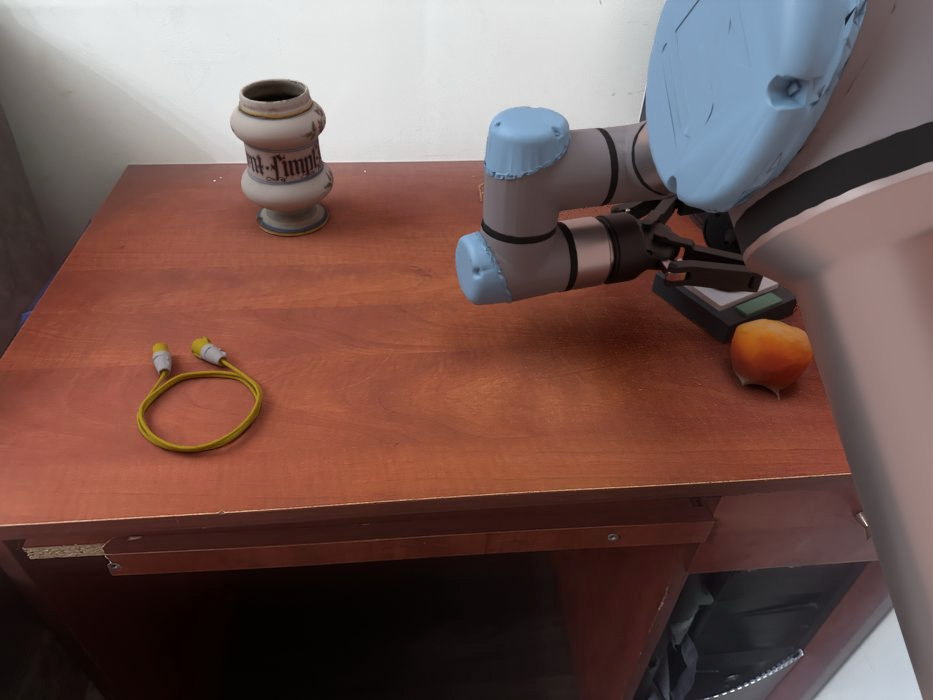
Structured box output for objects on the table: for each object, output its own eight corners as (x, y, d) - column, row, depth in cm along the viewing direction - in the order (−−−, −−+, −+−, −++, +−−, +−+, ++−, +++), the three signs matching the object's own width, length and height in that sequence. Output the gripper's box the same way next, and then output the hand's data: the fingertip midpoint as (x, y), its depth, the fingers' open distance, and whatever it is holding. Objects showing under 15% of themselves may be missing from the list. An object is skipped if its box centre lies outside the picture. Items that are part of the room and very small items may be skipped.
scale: (792, 314, 86) (802, 291, 84) (723, 343, 81) (731, 320, 79) (719, 265, 93) (726, 243, 91) (651, 290, 88) (656, 267, 86)
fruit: (724, 391, 72) (745, 315, 71) (717, 379, 80) (736, 310, 79) (807, 411, 71) (830, 333, 69) (792, 396, 78) (812, 326, 77)
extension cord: (274, 346, 77) (271, 331, 76) (253, 454, 65) (249, 439, 64) (158, 348, 76) (154, 334, 75) (116, 459, 64) (109, 444, 63)
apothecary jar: (235, 210, 100) (210, 81, 88) (314, 190, 105) (301, 66, 93) (267, 250, 92) (245, 114, 80) (351, 226, 97) (341, 96, 86)
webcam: (763, 272, 86) (790, 198, 80) (744, 300, 82) (772, 224, 75) (702, 251, 90) (723, 178, 83) (680, 277, 85) (701, 202, 78)
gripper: (547, 225, 88) (693, 203, 94) (649, 348, 70) (822, 312, 76) (554, 168, 83) (707, 150, 89) (666, 285, 65) (849, 252, 71)
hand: (761, 224), depth 82 cm, fingers open, 13 cm apart
